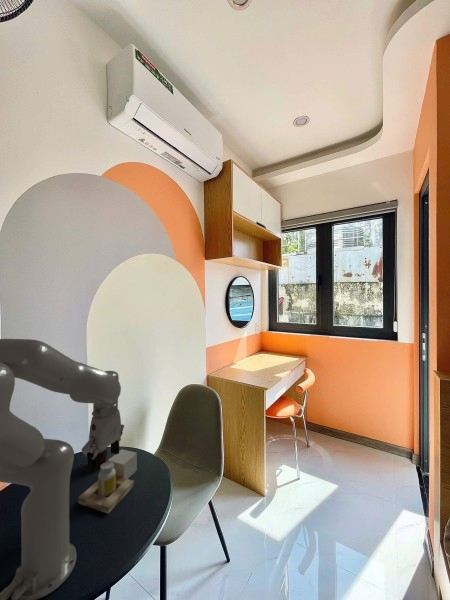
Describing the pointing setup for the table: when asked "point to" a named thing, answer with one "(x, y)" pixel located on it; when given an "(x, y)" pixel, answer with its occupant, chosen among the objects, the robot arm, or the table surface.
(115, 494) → the socket board
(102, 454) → the mate gourd
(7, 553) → the table surface
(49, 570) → the robot arm
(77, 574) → the table surface
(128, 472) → the light gray cube
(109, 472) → the supplement bottle
